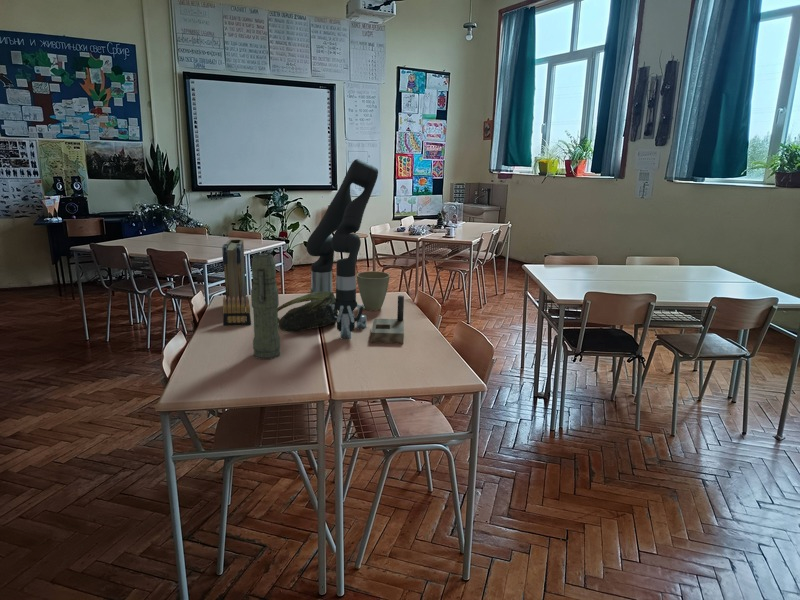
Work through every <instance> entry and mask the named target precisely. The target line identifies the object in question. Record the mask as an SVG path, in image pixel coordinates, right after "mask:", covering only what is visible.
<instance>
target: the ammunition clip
mask: <svg viewBox="0 0 800 600" xmlns="http://www.w3.org/2000/svg"><path fill="white" fill-rule="evenodd" d="M236 309H237V312H236ZM227 310H228V312H227ZM222 326H224V327H225V326H227V327H228V326H229V327H230V326H235V327H236V326H252V318H251V307H250V298H249V296H248V295H246V307H245V303H244V297H243V296H242V299H241V306H240V300H239V297H238V296H237V306H236V304H235V298H234V296H233V298H232V306H231V300H230V297H229V296H228V306H227V305H226V295H224V296H223V297H222Z"/></svg>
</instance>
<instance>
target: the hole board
mask: <svg viewBox="0 0 800 600" xmlns="http://www.w3.org/2000/svg"><path fill="white" fill-rule="evenodd" d="M404 305H405V295H403V294H402V295H398V296H397V314H396V315H397V317H396V318H373V320H372V321H373V323H372V326H371V327H372V328H371V331H370V332H371V335H370V336H371V338H370V339H371V340H370V343H371V342H372V344H395V343H399V344H401V345H404V343H405V342H404V341H405V339H404V338H405V329H404V328H405V322H404V321H405V320H404V311H405V310H404V309H405V308H404V307H405V306H404Z"/></svg>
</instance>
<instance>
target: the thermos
mask: <svg viewBox="0 0 800 600" xmlns="http://www.w3.org/2000/svg"><path fill="white" fill-rule="evenodd" d="M276 267H277V266H276V260H275V258H274V255H273V254H271V253H269V252H260V253H259V252H258V253H256V254H253V258H252V261H251V276H252V286H251V290H250V296H251V297H250V299H251V307H252V310H253V311H252V312H253V331H254V332H253V333H254V335H253V340H252V346H253V347H252V348H253V353H254V354H253V356H254V357H255V358H256V359H259V358H260V359H259V360H272V359H275V357H276V358H278V357H279V356H280V355H281V352H280V350H281V338H280V333H279V324H278V318H279V316H278V313H279V311H278V312H277V308H278V307H279V306H280V305H279V299H280V298H279V288H278V285H277V280H276V277H277V271H276V269H277V268H276ZM271 358H272V359H271Z"/></svg>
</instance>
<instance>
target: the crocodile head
mask: <svg viewBox="0 0 800 600" xmlns="http://www.w3.org/2000/svg"><path fill="white" fill-rule="evenodd" d="M313 299H316V300H315V301H312V302H311V300H313ZM303 302H305V303H304V304H302V305H300V306H297V307H293V308H290V309H289V310H287V312H285V314H284V315H282V317H281V318H280V317H278V329H280V331H283V332H287V333H297V332H298V333H299V332H300V331H304V330H310V329H317V328H321V327H324V326H328V325H332V324H335V323H337V322H336V321H335V320H332V318H331V315H330V312H329V310H328V305H329V304H334V303H335V302H336V295H335V294H334V292H333V291H332V292H314V293H311V292H310V293H307V294H304V295H302V296H301V295H300V296H299V297H296V298H294V299H291V300H289V301H287V302H285V303H283V304H281V305H279V306H278V307H277V312H278V313H279V312H280V311H282V310H283V309H286V308H287V307H290V306H292V305H296V304H300V303H303ZM334 313H335V316H336V317H338V314H339V311H338V309H337V308H336V307H334Z"/></svg>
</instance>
